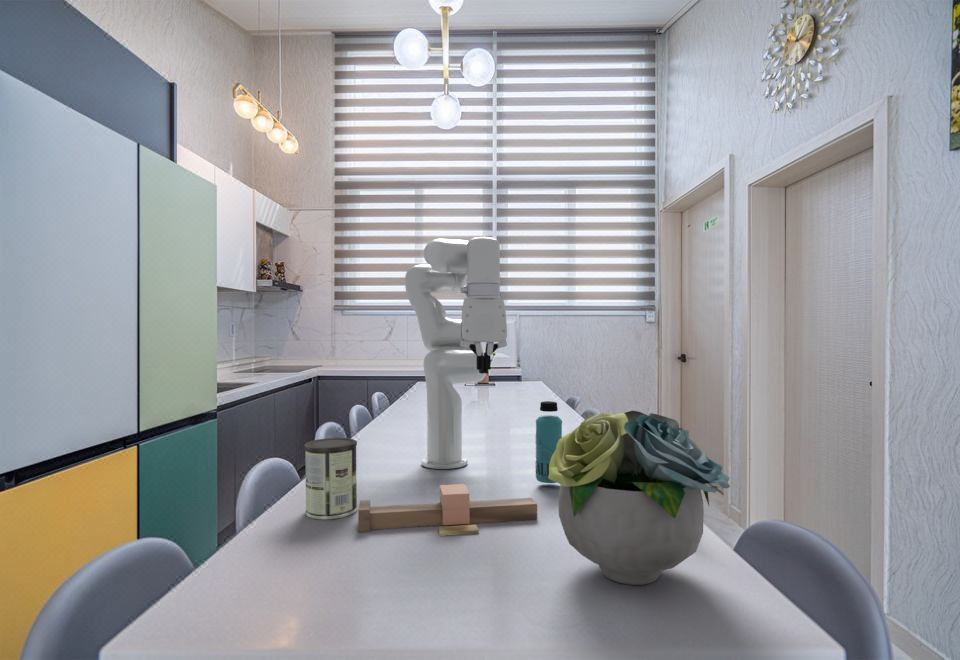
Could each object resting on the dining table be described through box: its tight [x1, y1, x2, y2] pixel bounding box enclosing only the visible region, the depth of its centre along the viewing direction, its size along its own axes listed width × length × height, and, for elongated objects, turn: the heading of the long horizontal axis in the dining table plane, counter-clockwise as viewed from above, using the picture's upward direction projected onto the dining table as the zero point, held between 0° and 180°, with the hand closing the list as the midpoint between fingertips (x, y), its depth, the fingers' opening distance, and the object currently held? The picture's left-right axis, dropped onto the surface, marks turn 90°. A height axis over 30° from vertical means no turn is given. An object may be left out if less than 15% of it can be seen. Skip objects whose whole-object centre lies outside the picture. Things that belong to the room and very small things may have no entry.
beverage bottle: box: [534, 400, 563, 484], centre depth 132 cm, size 6×7×20 cm
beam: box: [357, 497, 538, 537], centre depth 108 cm, size 15×34×4 cm, turn 100°
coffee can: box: [304, 437, 358, 521], centre depth 114 cm, size 10×10×14 cm
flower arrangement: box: [548, 410, 731, 586], centre depth 84 cm, size 25×25×24 cm
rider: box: [439, 483, 471, 526], centre depth 108 cm, size 7×5×6 cm
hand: (483, 372), depth 127 cm, fingers closed
